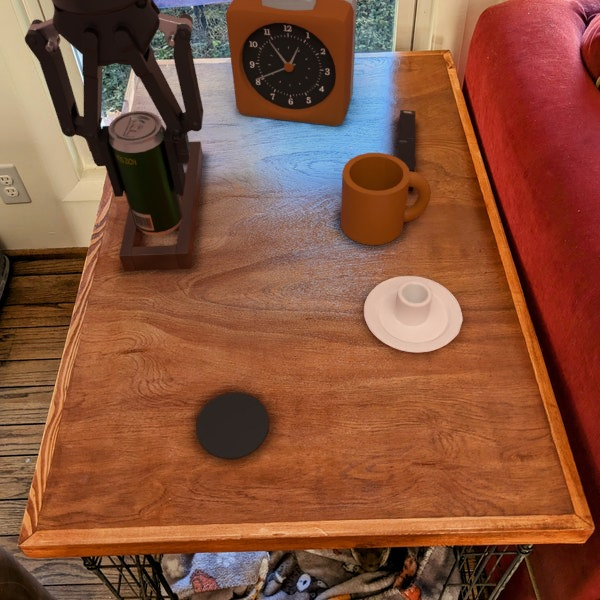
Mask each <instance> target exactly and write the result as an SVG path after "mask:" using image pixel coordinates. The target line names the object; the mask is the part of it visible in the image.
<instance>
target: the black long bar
mask: <svg viewBox="0 0 600 600" xmlns="http://www.w3.org/2000/svg"><path fill="white" fill-rule="evenodd" d="M399 111H400V113H399V118H398V131H397V134H398V135H397V156H396V157H397V158H398V159H400V160H401V161H403V162H404V163H405V164H406V166H407V167H408V168H409V172H410V171H411V172H416V110H407V109H401V110H399ZM408 192H412V193H413V192H414V188H413V187H409V188H408Z"/></svg>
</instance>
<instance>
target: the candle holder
mask: <svg viewBox="0 0 600 600" xmlns="http://www.w3.org/2000/svg"><path fill="white" fill-rule="evenodd" d="M363 316H364V320H365V323H366V325H367V327H368V329H369V330H370V332H371V333H372V334H373V336H375V337H376V338H377V339H378V340H379V341H380V342H382V343H383V344H385V345H387V346H389V347H391V348H393V349H394V350H395V349H396V350H399V351H402V352H407V353H429V352H432V351H435V350H438V349H441V348H443V347H444V346H446V345H448V344H449V343H451V342H452V341H453V340H454V339H455V338H456V337H457V336H458V335H459V333H460V331H461V328H462V324H463V321H464V317H463V314H462V309H461V306H460V304H459V302H458V300H457V298H456V297H455V296H454V295H453V293H452V292H451V291H450V290H449V289H448V288H447V287H445V286H443V285H442V284H441V283H438V282H437V281H434V280H432V279H430V278H426V277H422V276H417V275H400V276H394V277H391V278H388V279H386V280H384V281H382V282H380V283H378V284H376V286H374V287H373V288H372V290H371V291H370V292H369V293H368V295H367V297H366V299H365V301H364V305H363Z"/></svg>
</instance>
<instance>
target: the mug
mask: <svg viewBox="0 0 600 600" xmlns="http://www.w3.org/2000/svg"><path fill="white" fill-rule="evenodd" d="M341 175H342V176H341V197H340V199H341V201H340V228H341V230H342V232H343V233H344V235H346V236H347V237H348V238H349V239H350V240H352V241H354V242H357V243H359V244H363V245H368V246H380V245H383V244H388V243H391V242H392V241H394V240H395V239H397V238H398V237H399V236H400V234H401V233H402V231H403V228H404V223H407V222H411V221H414V220H415V219H417V218H419V217H420V216H421V215H422V214H423V213H424V212H425V210H426V209H427V208H428V206H429V203H430V201H431V195H432V190H431V185H430V183H429V181H428V179H427V178H426V177H425V176H424V175H423V174H421V173H419V172H418V171H417V172H416V171H415V172H411V171H410V172H409V168H408V167H407V166H406V164H405V163H404V162H403V161H401V160H400V159H398V158H397V156H394V155H391V154H389V153H384V152H365V153H361V154H357V155H356V156H354V157H352V158H350V159H348V161H347V162H346V163H345V164H344V166H343V169H342V173H341ZM409 187H413V189H415V190H416V191H417V198H416V200H415V202H414V203H413V204H412V205H410V206H408V207H407V201H408V196H409V195H408V194H409V191H408V188H409Z"/></svg>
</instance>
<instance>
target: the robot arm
mask: <svg viewBox="0 0 600 600" xmlns="http://www.w3.org/2000/svg"><path fill="white" fill-rule="evenodd" d="M51 2H52V5H53V16H52V18H49V19H47V20H45V21H43V20H41V19H34V20H32V21H31V23H30V25H29V27H28V30H27V32H26V34H25V36H24V42H25V44H26V46H27V47H28V48H29V50H30V51H31V52H32V53H33V55H34V56H35V58H36V59H37V61H38V62H39V65H40V68H41V71H42V74H43V77H44V80H45V84H46V86H47V90H48V93H49V96H50V99H51V102H52V105H53V109H54V111H55V114H56V117H57V120H58V124H59V126H60V127H59V128H60V129H61V132H62V134H63V135H64V136H66V137H68V138H72V137H74V136H79V137H81V138H84V140H86V142H87V145H88V148H89V151H90V154H91V157H92V161H93V163H94V164H95V165H96V166H97V167H105V170H106V173H107V176H108V179H109V182H110V185H111V188H112V192H113V195H114V197H115V198H120V197H124V189H123V186H122V183H121V180H120V176H119V173H118V170H117V166H116V163H115V160H114V157H113V153H112V150H111V147H110V143H109V126H110V125H102V122H103V117H102V113H103V112H102V108H103V107H102V106H103V69H104V68H103V67H108V66H112V65H115V64H117V65H123V66H130V68H131V70H132V72H133V73H134V75H135V77H137V78H139V79H140V81H141V83H142V84H143V87H144V88H145V91H146V92H147V94H148V96H149V98H150V99H151V101H152V103H153V106H155V109H156V110H157V113H158V114H159V116H160V117H161V119H162V121H163V123H164V124H165V130H166V131H165V137H164V143H165V147H166V152H167V156H168V161H169V165H170V170H171V174H172V179H173V183H174V188H175V192H176V194H183V193H184V184H185V173H186V172H185V168H184V164H183V163H185V162H188V161H189V157H190V145H189V142H190V141H189V135H188V133H189V132H191V131H192V132H200V131H201V130H202V129H203V119H204V118H203V117H204V107H203V103H202V102H203V101H202V97H201V91H200V87H199V82H198V81H199V80H198V76H197V71H196V66H195V62H194V61H195V60H194V56H193V51H192V50H193V49H192V46H191V40H192V39H191V38H192V31H193V25H194V24H193V23H194V19H193V16H191V15H190V14H188V13H181V14H180V15H179V16H178V17H177V16H173V15H170V14H166V13H162V12H161V10H160V8H159V6H158V5H157V4H156V3H155V1H154V0H51ZM158 31H160V32H162V33H163V34H164V39H165V42H166V43H167V45H168V46H169V47H171V48H173V61H174V66H175V71H176V75H177V80H178V84H179V90H180V93H181V97H182V102H183V107H184V112H183V109H182V107H181V106H180V103H179V102H178V100H177V97H176V96H175V94H174V92H173V89H172V88H171V86H170V85H169V83H168V80H167V78H166V77H165V75H164V73H163V71H162V69H161V67H160V65H159V63H158V61H157V59H156V56H155V52H154V50H153V47H152V46H151V43H152V41H153V39H154V38H155V36H156V34H157V32H158ZM61 37H62V38H63V39H64V40H65V41H67V42H68V43H69V45H71V46H72V47H73V48H74V49H75V50H76V51H78V52H79V54H80V55H82V56H81V58H82V63H81V64H82V65H81V66H82V68H81V69H82V71H81V72H82V73H81V74H82V77H83V115H81V113H80V111H79V108H78V104H77V101H76V97H75V95H74V91H73V87H72V83H71V80H70V77H69V73H68V69H67V67H66V63H65V60H64V57H63V53H62V50H61V46H60V44H61Z"/></svg>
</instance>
